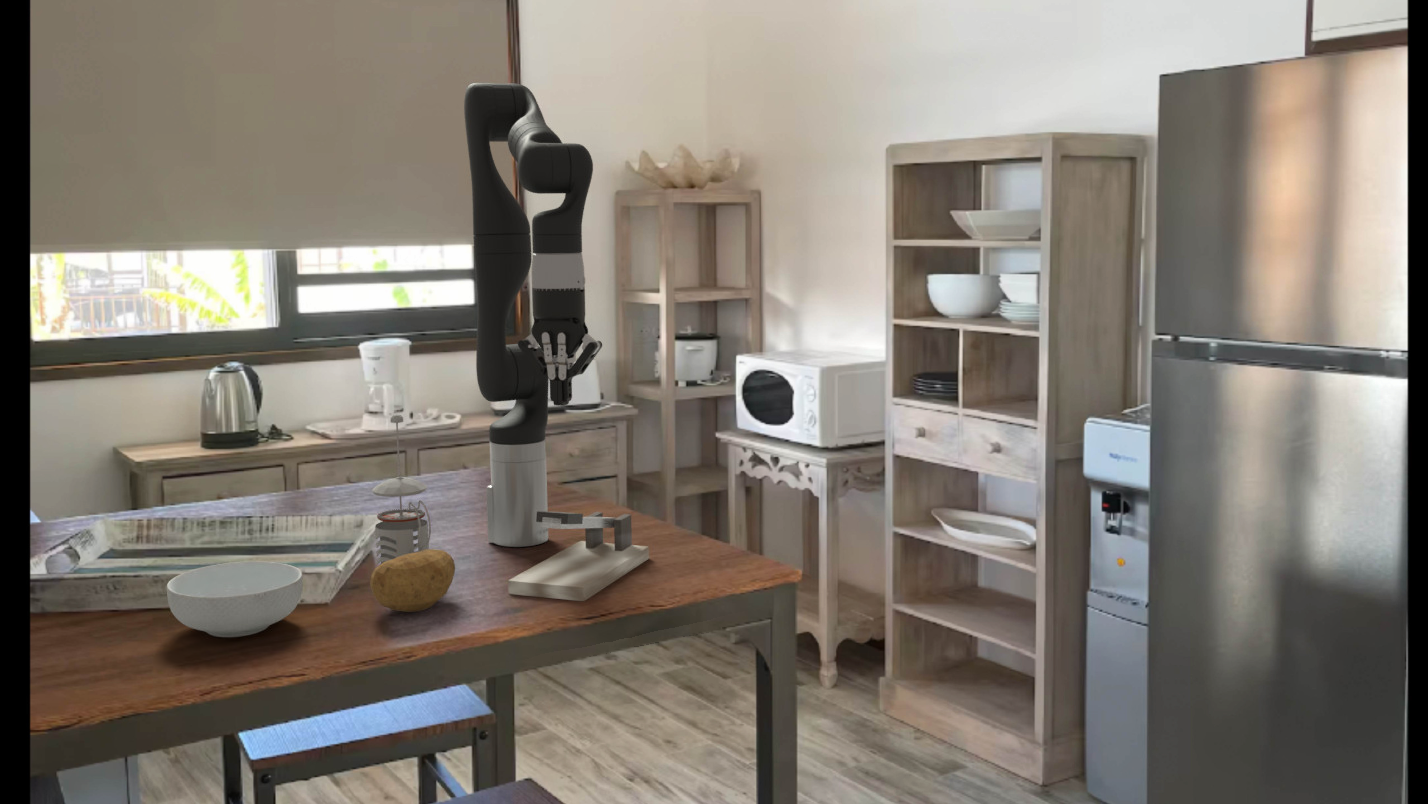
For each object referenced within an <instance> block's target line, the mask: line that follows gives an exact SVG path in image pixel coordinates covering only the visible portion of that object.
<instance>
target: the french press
mask: <svg viewBox="0 0 1428 804" xmlns="http://www.w3.org/2000/svg"><path fill="white" fill-rule="evenodd" d="M389 422H390V423H391V424H395V426H396V427H395V429H396V449H397V451H396V452H397V467H398V468H397V469H398V471H397V472H398V473H397V474H398V476H397V477H395V478H389V479H387V480H384V481H383V482H380V483H378V484H377V485H376V486H375V487H373V488H372V489H371V492H372V493H373V495H375V496H379V497H389V498H391V497H392V498H395V497H399V508H398V509H397V508H396V509H388V510H384V511H382V512H380V513H378V514H377V516H376V518H377V520H379V521H380V522H378V523H376V524H375V527H374V528H375V530H374V531H375V540H377V539H378V538H379V540H378V541H377V542H376V543H375V546H376V548H378V547H380V548H378V550H377V551H376V557H378V556H379V555H380V557H378V558H377V559H376V564H377V565H378V564H382V563H384V562H386V561H389V560H392V559H395V558H397V557H399V556H402V555H406V554H410V553H415V552H420V551H423V550H428V549H429V548H430V546H429V545H430V540H431V535H432V534H431V533H432V530H431V529H432V525H431V517H430V514H429V512H428V509H427V506H426V504H425V503H424V502H423V501H422V500H418V503H417V504H418V505H417V507H416V506H415V504H413V503H412V502H411V501H409V503H408V508H402V507H403V506H402V504H403V503H402V497H409V496H415V495H420V494H423V492H425V491H426V490H427V488H428V485H426V484H424V483H423V482H422V481H419V480H417V479H414V478H411V477H403V476H401V464H400V463H401V462H400V444H399V442H400V441H399V425H398V424H399V423H400V424H401V423H403V422H404V417H403V416H402V415H401V414H393V415H391V417H390V421H389ZM421 505H422V506H423V508H424V510H425V511H423V510H422V509H420V508H421ZM411 507H412V508H411ZM425 516H427V520H425V519H423V518H424V517H425ZM415 532H417V534H416V535H414V533H415ZM414 541H417V543H414ZM416 549H417V550H416ZM415 550H416V551H415Z"/></svg>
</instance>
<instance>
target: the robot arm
mask: <svg viewBox="0 0 1428 804" xmlns="http://www.w3.org/2000/svg"><path fill="white" fill-rule="evenodd" d="M463 104H464V106H463V108H464V109H463V110H464V111H463V112H464V125H465V134H466V135H465V136H466V143H467V152H468V160H469V169H470V177H471V179H470V180H471V194H472V195H471V197H472V198H471V200H472V235H473V254H474V265H475V277H476V278H475V281H476V294H477V299H476V300H477V325H476V326H477V327H476V330H477V331H476V357H475V358H476V359H475V362H476V363H475V364H476V365H475V368H476V369H475V370H476V379H477V385H478V388H479V392H480V394H481V396H482V397H483V398H484V399H485V400H486V401H488V402H491V403H492V402H493V403H497V402H499V403H500V402H509V401H515V403H514V406H513V407H512V408H511V410H510V411H509V412H508V413H507V414H506V415H504V416H502V417H500V418H499V419H497V420H494V421H493V422H492V423H491V425H489V430H488V432H489V433H488V434H489V435H488V436H489V459H490V460H489V463H490V464H489V465H490V484H489V485H488V486H486V488H485V490H486V492H485V493H486V523H487V542H488V543H491V544H495V545H498V546H502V547H511V548H512V547H513V548H518V547H519V548H521V547H531V546H536V545H540V544H543V543H546V542H548V541H549V528H542V522H536V517H537V511H548V485H547V483H548V481H547V480H548V479H547V452H546V450H547V449H546V447H547V446H546V430H547V429H546V428H547V425H548V421H549V420H548V419H549V418H548V417H549V397H550V401H551V402H552V403H553V405H554V406H561V407H562V406H566V405H567V406H568V405H569V404H570V401H572V399H573V383H572V381H573V378H574V377H576V376H580V375H583V374H584V373H585V372H586V370H587V369H588V367H589V366H590V365H591V363H592V362H593V360H594V359H595V357H596V356H597V355H598V353H599V352H600V350H601V349H602V347H603V343H602V341H601V340H596V339H594V337H592V336H591V335H590V334H589V328H588V326H587V324H586V319H585V318H586V291H585V290H586V289H585V288H586V287H585V285H586V276H585V266H584V259H583V238H582V237H583V235H582V233H583V232H582V230H583V228H582V227H583V219H584V218H583V217H584V211H585V206H586V201H587V197H588V193H589V189H590V185H591V182H592V179H593V171H594V164H593V163H594V162H593V158H592V156H591V154H590V153H591V152H590V151H589V150H588V148H586V147H585V146H584V145H583V144H580V143H574V142H573V143H572V142H571V143H569V142H566V143H565V142H564V143H563V142H562V140H561V139H560V137H559V135H557V133H555V131H553V130H552V129H551V127H549V126H548V125H547V123H546V121H545V117H544V115H543V112H542V111H541V109H540V105H539V104H538V101H537V99H536V98H535V95H534V93H533V92H532V91H531V90H530V88H528V87H527V86H525V85H524V84H519V83H500V82H499V83H496V82H494V83H493V82H475V83H470V84H469V85H468V87H467V88H466V90H465V94H464V101H463ZM491 142H492V143H493V142H494V143H495V142H499V143H500V142H501V143H502V142H507V146H508V149H509V152H510V154H511V156H512V157H513V159H514V160H515V161H516V163H517V174H518V175H517V176H518V181H519V183H520V185H521V187H522V188H523V189H524V190H526V191H528V192H530V193H534V194H538V195H539V194H546V195H547V194H550V195H551V194H564V199H563V201H562V202H561V204H560V205H559V206H558V207H556V208H553V209H549V210H543V211H540V212H537V213H535V214H534V215H533V217H532V220H531V226H530V221H529V218H528V217H527V215H526V213H525V211H524V209H523V208H522V206H521V204H520V203H519V201H517V199H516V198H515V196H514V195H513V194H512V192H511V191H510V189H509V187H508V186H507V184H506V183H505V182H504V180H503V178H502V176H501V175H500V172H499V170H498V168H497V166H496V163H495V161H494V158H493V154H492V150H491V149H492V148H491V144H490V143H491ZM531 235H532V238H531ZM531 242H532V243H531ZM530 268H531V269H530ZM530 270H531V295H532V296H531V297H532V300H531V301H532V303H531V304H532V316H533V324H532V326H531V329H530V332H531V333H530V334H529V335H528V336H526V338H524V339H520V340H519V341H518V343H514V344H511V343H510V344H507V343H506V339H507V338H506V337H507V336H506V334H507V324H508V318H509V315H510V311H511V309H512V307H513V304H514V302H515V300H516V298H517V296H518V294H519V292H520V290H521V289H522V287H523V285H524V283H525V281H526V280H527V277H528V274H529V272H530ZM580 348H581V349H582V352H581V353H580V354H579V356H578V357H577V355H576V354H577V352H578V351H579V349H580ZM576 357H577V358H576ZM576 359H577V360H576Z"/></svg>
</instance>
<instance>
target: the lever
mask: <svg viewBox="0 0 1428 804" xmlns="http://www.w3.org/2000/svg"><path fill="white" fill-rule="evenodd" d="M616 518H617V517H611V516H609V517H608V516H606V517H605V516H603V517H587V516H584V513H577V512H565V511H564V512H563V511H537V517H536V522H542V528H548V529H557V530H569V529H585V528H603V529H607V528H608V529H609V528H611V529H612V528H614V519H616Z"/></svg>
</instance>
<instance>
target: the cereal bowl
mask: <svg viewBox="0 0 1428 804" xmlns="http://www.w3.org/2000/svg"><path fill="white" fill-rule="evenodd" d="M302 593H303V572H302V570H300V569H299V568H298V567H296V566H293V565H290V564H287V563H281V562H276V561H275V562H274V561H262V560H261V561H259V560H258V561H255V560H254V561H236V562H235V561H233V562H225V563H219V564H213V565H207V566H202V567H198V568H195V569H191V570H188V571H186V572H183V573H180V574H178V575H177V576H174V577H173V578H171V579H170V580H169V581H168V582H167V584H166V594H167V595H166V596H167V597H166V598H167V603H168V606H169V610H170V612H171V613H172V615H173V616H174V617H175V619H177V620H178V622H180V623H181V624H183V625H184V626H186V627H188V628H190V629H194V630H197V631H201V632H202V631H203V632H205V633H207V634H208V635H210V636H213V637H216V638H217V637H218V638H219V637H220V638H237V637H245V636H251V635H254V634H257V633H261V632H262V631H265V630H266V629H267V628H268V627H270V625H274V624H276V623H278V622H279V621H282V620H283V619H285V618H287V616H289V615H290V614H292V612H293V611H294V610H295V609H296V607H297V605H298V604H299V601H300V600H301V597H302Z"/></svg>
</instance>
